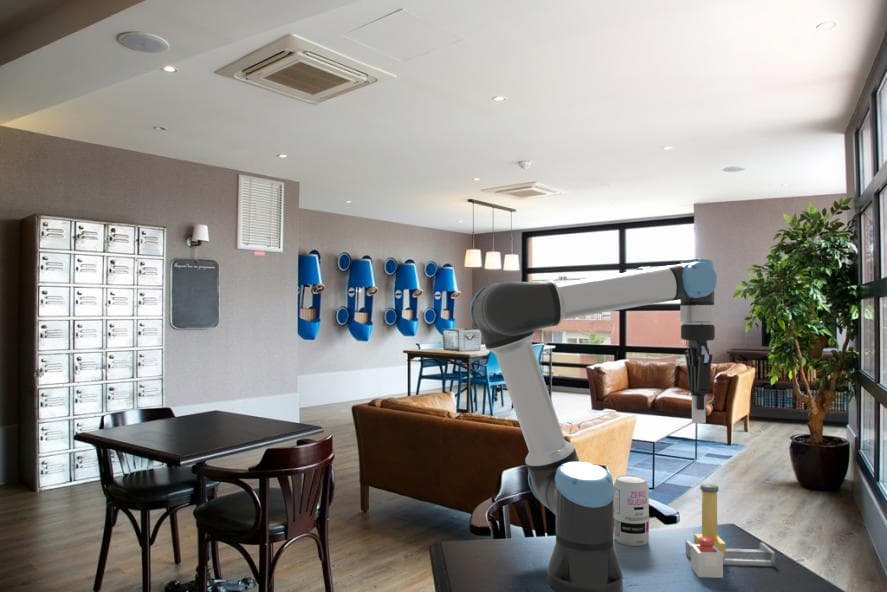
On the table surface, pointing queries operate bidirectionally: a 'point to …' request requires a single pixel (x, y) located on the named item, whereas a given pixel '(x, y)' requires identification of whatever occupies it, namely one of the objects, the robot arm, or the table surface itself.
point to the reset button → (706, 544)
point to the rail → (745, 556)
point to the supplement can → (631, 510)
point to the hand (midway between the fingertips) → (698, 422)
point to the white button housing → (707, 562)
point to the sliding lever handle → (710, 516)
